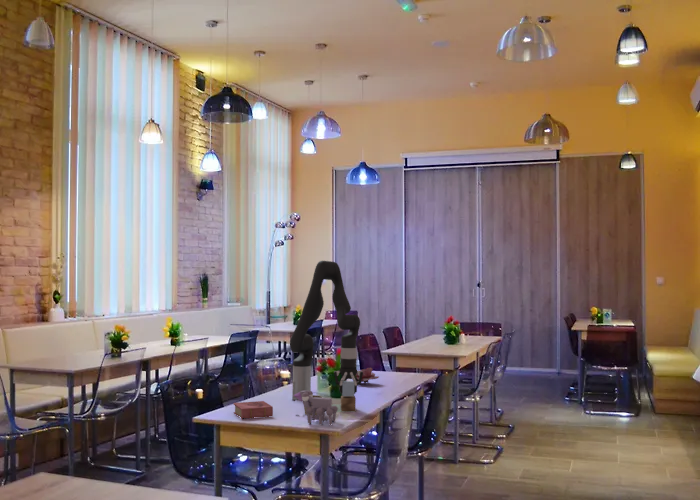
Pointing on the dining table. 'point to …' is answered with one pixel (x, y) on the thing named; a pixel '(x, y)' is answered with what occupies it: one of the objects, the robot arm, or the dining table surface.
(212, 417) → the dining table surface
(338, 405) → the build board
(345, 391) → the grey cube
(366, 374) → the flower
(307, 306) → the robot arm
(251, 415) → the book
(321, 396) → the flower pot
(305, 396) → the toy sheep
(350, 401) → the brown wooden cube
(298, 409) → the dining table surface
